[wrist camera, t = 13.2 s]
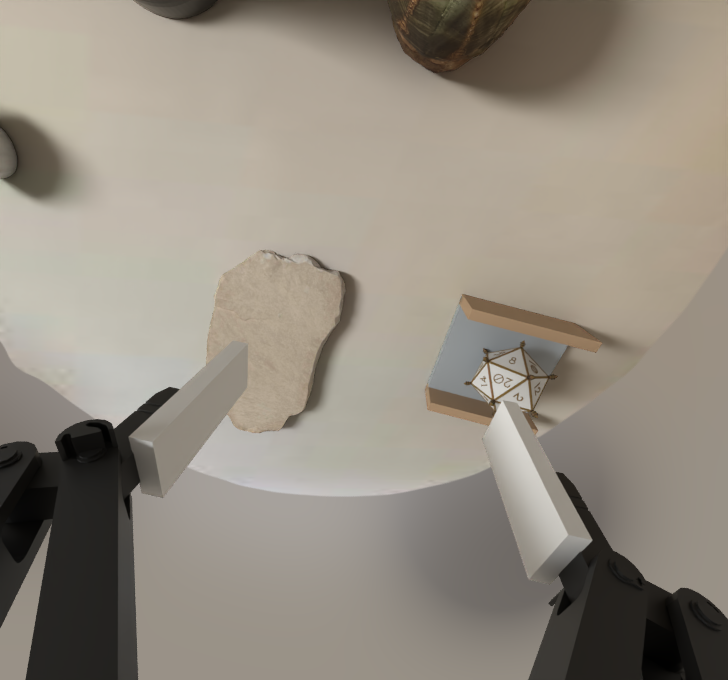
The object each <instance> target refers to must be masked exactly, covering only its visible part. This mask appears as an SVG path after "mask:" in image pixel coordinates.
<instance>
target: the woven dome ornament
mask: <svg viewBox="0 0 728 680" xmlns="http://www.w3.org/2000/svg"><path fill="white" fill-rule="evenodd" d="M530 1H531V0H388V4H389V8H390V11H391V14H392V21H393V26H394V29H395V32H396V34H397V38H398V41H399V42H400V44H401V47H402V49H403V51H404V52H405V53H406V54H407V55H408V56H410V57H411V58H412V59H413V60H414V61H416V62H417V63H419V64H421V65H422V66H423V67H425V68H426V69H428V70H431V71H432V72H433V73H439V72H444V71H452V70H455V69H457V68H459V67H460V66H462V65H463V64H465V63H466V62H468V61H469V60H470V59H472V58H473V57H476V56H478V55H481V54H483V53H484V52H485V51H486V50H487V49H488V48H489V47H490V45H491V44H492V43H494V42H495V41H496V40H497V39H498V38H499V37H501V36H502V35H503V33H504V32H505V30H507V28H508V27H509V26H510V25H511V24H512V23H513V21H514V20H515V19H516V18H517V16H518V15H519V14H520V12H521V11H522V10H523V9H524V8H525V7H526V6H527V4H528V3H529V2H530Z"/></svg>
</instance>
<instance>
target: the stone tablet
mask: <svg viewBox="0 0 728 680" xmlns="http://www.w3.org/2000/svg"><path fill="white" fill-rule="evenodd" d="M345 292H346V289H345V282H344V281H343V279H342V277H341V276H340V273H339V271H336V270H326V269H324V268H321V267H320V265H319V264H318V263H317V262H316V261H315V260H314V259H313V258H311V257H310V256H308V255H303V254H294V255H293V256H292V257H290V258H284V257H281V256H279V255H277V254H276V253H275V252H272V251H270V250H263V251H261V250H260V251H258V252H256V253H255V254H253V255H252V256H250V257H249V258H248V259H246V260H245V261H244V262H242V263H240V264H239V265H237V266H236V267H235V268H233V269H232V270H230V271H229V272H227V273H225V274H223V275H222V276H221V278H220V280H219V284H218V288H217V290H216V293H215V295H214V299H215V307H214V311H213V315H212V320H211V322H210V324H211V326H210V328H209V333H208V339H207V356H206V365H207V364H208V363H209V362H210V361H211V360H212V359H213V358H215V357H216V356H217V355H218V354H219V353H220V352H221V351H222V350H223V349H224V348H225V347H226V346H228V345H229V344H230V343H231V342H232V341H233V340H234V341H239V342H243V343H248V381H247V388H246V390H245V391H244V392H243V393H242V395H241V396H240V397H239V399H238V400H237V401H236V403H235V404H234V405H233V407H232V408H231V409H230V411H229V412H228V413H227V415H228V416H229V417H230V419H231V421H232V423H233V425H234V426H235V427H236V428H238V429H239V430H244V431H248V432H252V433H261V432H264V431H270V430H273V431H276V430H277V431H279V430H280V429H281V428H282V427H283V425H284V424H285V422H286V420H287V419H288V417H289V416H291V415H296V414H299V413H300V412H302V411H303V410H304V409H305V407H306V405H307V401H308V398H309V397H310V394H311V389H312V386H313V382H314V376H315V374H314V373H315V367H316V365H317V362H318V360H319V356H320V354H321V351H322V348H323V346H324V344H325V342H326V341H327V339H328V337H329V335H330V334H331V332H332V331H333V329H334V328H335V327H336V325H337V324H338V323H339V322H340V315H341V312H342V306H343V303H344V302H343V297H344V294H345Z"/></svg>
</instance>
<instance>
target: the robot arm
mask: <svg viewBox="0 0 728 680" xmlns="http://www.w3.org/2000/svg"><path fill="white" fill-rule="evenodd" d="M133 1H135V2H136V3H137V4H139V5H140V6H142V7H143V8H145V9H147V10H149V11H150V12H152V13H155V14H157V15H160V16H164V17H168V18H188V17H192V16H195V15H198V14H200V13H202V12H204V11H205V10H207V9H208V8H210V7H211V6H212V5H213V4H214V3H215V2H217V0H133ZM247 381H248V343H243V342H239V341H234V340H233V341H232V342H231V343H230V344H229V345H228V346H226V347H225V348H224V349H223V350H222V351H221V352H220V353H219V354H218V355H217V356H216V357H215V358H213V359H212V360H211V361H210V362H209V363H208V364H207V365H206V366H205V367H204V368H203V369H202V370H200V371H199V372H198V373H197V374H196V375H195V376H194V377H193V378H192V379H191V380H190V381H189V382H187V383H186V384H185V385H184V386H183V387H182V388H181V389H177V388H172V387H169V388H167V389H164V390H162V391H160V392H158V393H156V394H155V395H154V396H152V397H151V398H150V399H149V400H148V401H147V402H146V403H145V404H143V405H142V406H141V407H139V408H138V410H137V411H135V412H134V413H132V414H131V415H130V416H129V417H128V418H127V419H125V420H124V421H123V422H122V423H121V424H119V425H118V426H117V427H116V428H115V429H114V428H113V426H112V423H110V422H108V421H106V420H100V419H95V420H87V421H83V422H80V423H77V424H74V425H73V426H71V427H69V428H67V429H65V430H64V431H63V432H62V433H61V434H59V435H58V437H57V439H56V441H55V444H56V446H57V449H58V451H59V452H49V453H38V451H37V448H36V447H35V445H34V444H32V443H29V442H13V443H8V444H4V445H1V446H0V627H1V626H2V624H3V622H4V620H5V617H6V616H7V613H8V611H9V609H10V607H11V605H12V603H13V601H14V599H15V597H16V595H17V593H18V591H19V589H20V587H21V585H22V583H23V581H24V579H25V577H26V575H27V573H28V571H29V569H30V566H31V564H32V562H33V560H34V558H35V556H36V554H37V552H38V550H39V548H40V546H41V544H42V542H43V540H44V538H45V536H46V534H47V532H48V530H49V528H50V526H51V524H52V527H51V533H50V538H49V544H48V551H47V556H46V562H45V568H44V574H43V580H42V586H41V592H40V597H39V604H38V609H37V615H36V621H35V627H34V633H33V639H32V645H31V651H30V657H29V663H28V668H27V674H26V680H138V665H137V637H136V606H135V578H134V547H133V521H132V520H133V519H132V518H133V517H132V496H131V492H132V490H133V489H134V488H135V487H136V486H137V485H138V484H139V483H140V487H141V492H142V493H143V494H148V495H152V496H157V497H161V498H163V497H164V496H165V495H166V493H167V492H168V491H169V489H170V488H171V487H172V486H173V484H174V483H175V481H176V480H177V479H178V478H179V476H180V475H181V474H182V472H183V471H184V470H185V468H186V467H187V466H188V465H189V463H190V462H191V461H192V459H193V458H194V457H195V455H196V454H197V453H198V451H199V450H200V449H201V447H202V446H203V445H204V443H205V442H206V441H207V440H208V438H209V437H210V436H211V434H212V433H213V432H214V430H215V429H216V428H217V426H218V425H219V424H220V422H221V421H222V420H223V418H224V417H225V416H226V415H227V413H228V412H229V411H230V409H231V408H232V407H233V405H234V404H235V403H236V401H237V400H238V399H239V397H240V396H241V395H242V393H243V392H244V391H245V390H246V388H247ZM482 440H483V443H484V446H485V449H486V452H487V455H488V458H489V461H490V464H491V467H492V470H493V473H494V476H495V479H496V482H497V485H498V488H499V491H500V494H501V498H502V500H503V503H504V507H505V509H506V513H507V515H508V518H509V521H510V525H511V528H512V531H513V534H514V537H515V540H516V543H517V546H518V549H519V552H520V555H521V558H522V561H523V564H524V567H525V570H526V573H527V576H528V579H529V580H532V581H537V582H541V583H546V584H551V583H552V582H553V581H554V580H555V579H556V578H557V577H558V576H559V577H560V579H561V582H562V584H563V586H564V588H563V589H562V590H561V591H560V592H559V593H558V594H557V595H556V596H555V597H554V598H553V599H552V600H551V601H550V602H549V604H550V605H551V606H553V605H554V604H555V606H554V609H553V612H552V614H551V617H550V620H549V623H548V626H547V629H546V631H545V634H544V637H543V640H542V643H541V645H540V648H539V651H538V654H537V657H536V660H535V662H534V666H533V668H532V671H531V674H530V677H529V679H528V680H728V619H727V618H726V617H725V616H724V614H723V613H722V612H721V611H720V610H719V609H718V608H717V607H716V606H715V605H714V604H713V603H712V602H710V601H709V600H708V599H706V598H705V597H704V596H702V595H701V594H699V593H697V592H695V591H693V590H691V589H688V588H680V589H679V590H677V591H676V592H675V593H673V594H671V593H669V592H667V591H665V590H663V589H662V588H659V587H658V586H656V585H654V584H652V583H650V582H648V581H646V580H645V579H644V577H643V575H642V574H641V573H640V572H639V570H638V569H637V568H636V567H635V566H634V565H633V564H632V563H631V562H630V561H629V560H628V559H626V558H625V557H624V556H622V555H620V554H618V553H617V552H615V551H613V550H612V548H611V547H610V545H609V544H608V542H607V540H606V538H605V537H604V535H603V533H602V531H601V530H600V528H599V527H598V525H597V523H596V521H595V520H594V518H593V516H592V515H591V513H590V512H589V511H588V508H587V506H586V504H585V503H584V501H583V500H582V497H581V496H580V494H579V492H578V491H577V489H576V487H575V486H574V484H573V483H572V482H571V481H570V480H569V479H568V478H567V477H566V476H565V475H564V474H563V473H559V472H555V471H554V469H553V467H552V466H551V464H550V462H549V460H548V458H547V456H546V454H545V453H544V451H543V449H542V447H541V445H540V444H539V442H538V440H537V438H536V436H535V434H534V433H533V431H532V429H531V427H530V425H529V423H528V422H527V420H526V418H525V416H524V414H523V413H522V411H521V409H520V407H519V405H518V403H515V402H510V401H506V400H502V402H501V404H500V405H499V407H498V409H497V411H496V413H495V415H494V417H493V419H492V421H491V423H490V425H489V427H488V429H487V431H486V433H485V434H484V436H483V438H482Z"/></svg>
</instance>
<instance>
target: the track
mask: <svg viewBox="0 0 728 680" xmlns="http://www.w3.org/2000/svg"><path fill="white" fill-rule="evenodd" d="M524 340H525V344H526V345H525V346H524V347H523V349H524V350H525V351H526V352H527V353H528V354H529V355H530V357H531V358H532V359H533V360H534V361H535V362H536V363H537V364H538V365H539V366H540V367H541V369H542V370H543V371H544V372H545V373H546V374H547V375H548V376H549V375H551V373H552V371H553V370H554V368H555V366H556V365H557V363H558V361H559V360H560V358H561V356H562V355H563V353H564V351H565V350H566V348H567V346H572V347H576V348H580V349H584V350H588V351H592V352H595V353H596V352H597V350H598V349H599V347H600V346H601V344H602V342H601V341H599V340H598V339H596V338H595V337H594V336H592V335H591V334H589V333H588V332H586V331H585V330H584V329H582V328H581V327H579V326H578V325H576V324H575V323H571V322H568V321H564V320H560V319H556V318H552V317H548V316H544V315H541V314H537V313H533V312H529V311H525V310H521V309H518V308H514V307H510V306H506V305H502V304H498V303H494V302H491V301H487V300H483V299H479V298H475V297H471V296H468V295H464V294H462V297H461V299H460V302H459V304H458V307H457V310H456V312H455V315H454V317H453V320H452V322H451V325H450V327H449V330H448V333H447V335H446V338H445V340H444V343H443V345H442V348H441V350H440V353H439V356H438V358H437V361H436V363H435V366H434V368H433V371H432V373H431V376H430V378H429V381H428V384H427V386H426V389H425V393H426V401H427V409H428V410H430V411H434V412H438V413H442V414H446V415H449V416H453V417H457V418H461V419H465V420H469V421H472V422H476V423H480V424H484V425H488V426H489V425H490V423H491V421H492V419H493V416H492V413H493V412H494V410H493V409H492V408H491V407H490V405H489V404H488V403H487V402H486V401H485V400H484V399H483V397H482V396H481V395H480V394H479V393H478V392H477V390H476V389H475V388H474V387H473V386H472V385H465V384H464V383H465V382H466V381H467V382H468V381H469V382H471V381H472V379H473V377H474V375H475V374H476V372H477V370H478V368H479V366H480V364H481V363H482V361H483V357H485V355H486V354H484V352H483V348H484V349H487V351H488V353H490V352H496V351H501V350H507V349H513V348H518V347H520V344H521V343H520V342H522V341H524ZM522 413H523V414H524V416H525V418H526V420H527V422H528V423H529V425H530V427H531V429H532V431H533V433H534V434H535V435H536V433H537V432H538V429H537V428H536V426H535V424H534V423H533V421H532V419H531V418H530V416H529V414H528V412H522Z"/></svg>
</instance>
